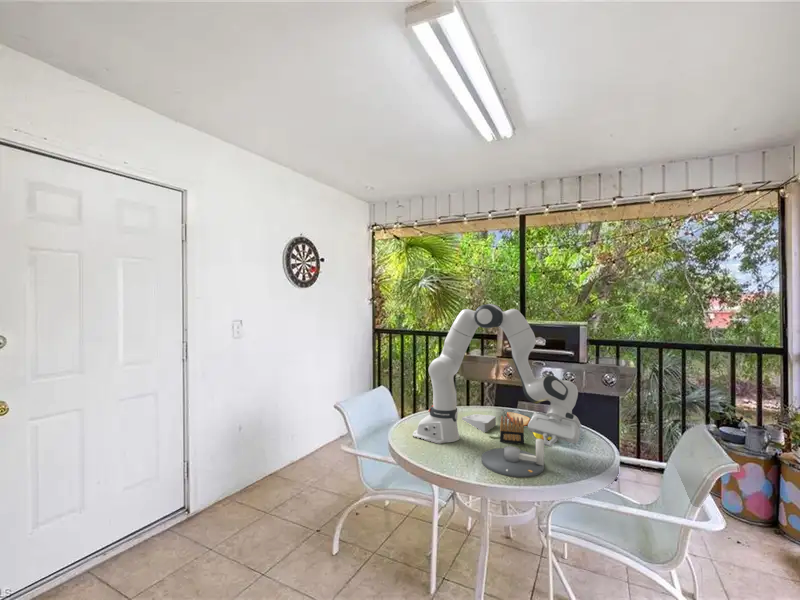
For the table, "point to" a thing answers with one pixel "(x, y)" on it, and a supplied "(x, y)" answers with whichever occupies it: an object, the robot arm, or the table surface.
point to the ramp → (481, 421)
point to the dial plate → (510, 464)
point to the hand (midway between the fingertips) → (546, 445)
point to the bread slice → (515, 415)
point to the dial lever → (514, 454)
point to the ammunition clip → (512, 431)
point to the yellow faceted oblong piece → (540, 436)
